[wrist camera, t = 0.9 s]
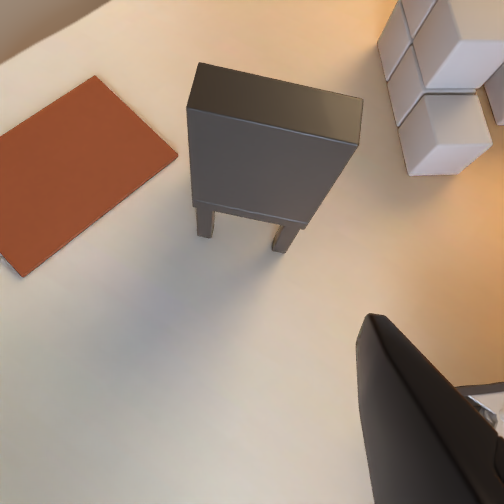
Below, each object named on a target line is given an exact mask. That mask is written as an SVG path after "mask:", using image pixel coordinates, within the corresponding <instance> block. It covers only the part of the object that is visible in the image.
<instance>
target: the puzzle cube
mask: <svg viewBox="0 0 504 504" xmlns="http://www.w3.org/2000/svg"><path fill="white" fill-rule="evenodd" d="M377 45H378V49H379V53H380V57H381V62H382V66H383V70H384V74H385V79H386V81H389V82H388V83H387V87H388V91H389V96H390V100H391V104H392V108H393V113H394V117H395V121H396V125H397V126H398V127H399V129H398V134H399V138H400V142H401V146H402V151H403V155H404V159H405V163H406V168H407V172H408V175H409V176H421V175H454V174H459V173H460V172H461V171H462V170H464V169H465V168H466V167H467V166H468V165H470V164H471V163H472V162H473V161H474V160H476V159H477V158H478V157H479V156H480V155H482V154H483V153H484V152H485V151H486V150H488V149H489V148H490V147H491V146H492V145H493V142H492V139H491V136H490V133H489V129H488V126H487V123H486V120H485V117H484V114H483V110H482V107H481V104H480V101H479V98H478V96H477V95H474V94H475V92H476V88H480V87H481V86H482V85H483V84H484V83H485V82H486V83H485V84H484V87H485V90H486V93H487V96H488V99H489V102H490V105H491V109H492V112H493V115H494V118H495V121H496V124H497V125H504V0H398V2H397V4H396V6H395V8H394V10H393V12H392V14H391V16H390V18H389V19H388V21H387V23H386V25H385V27H384V29H383V31H382V33H381V35H380V37H379V39H378V41H377Z"/></svg>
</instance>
